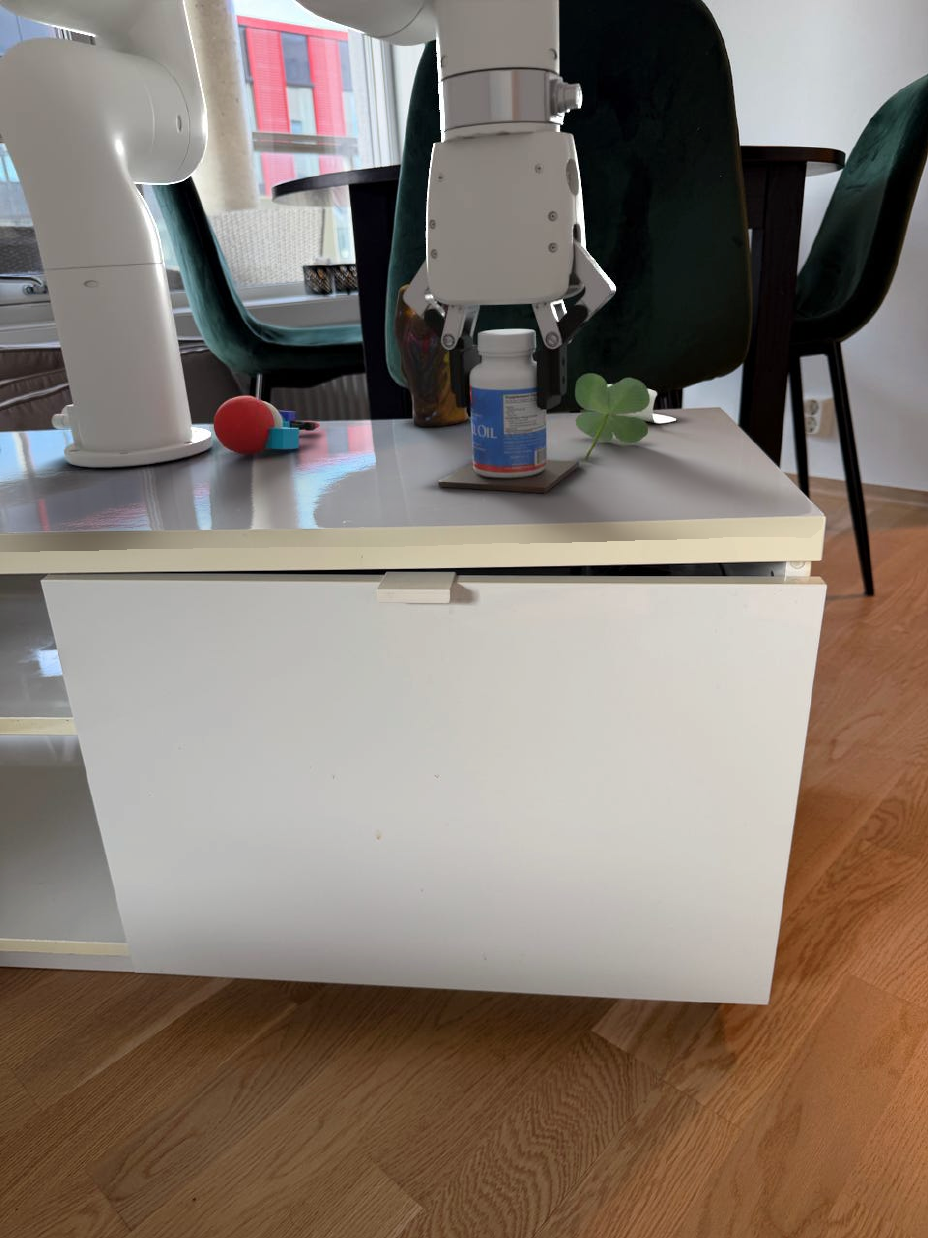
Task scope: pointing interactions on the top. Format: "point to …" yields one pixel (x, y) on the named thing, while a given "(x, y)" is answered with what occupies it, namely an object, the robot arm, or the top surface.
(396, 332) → the figurine
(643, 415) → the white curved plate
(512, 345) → the pill bottle
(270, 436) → the toy figure
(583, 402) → the green leafy piece
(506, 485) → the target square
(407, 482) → the top surface
